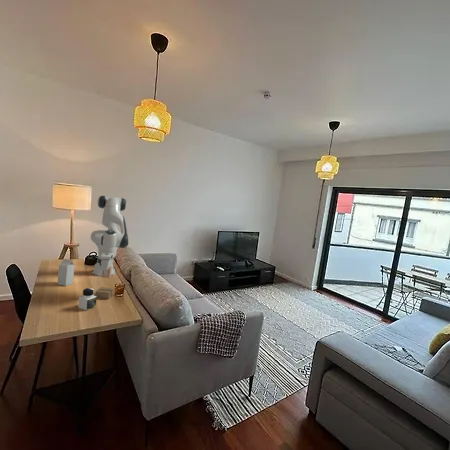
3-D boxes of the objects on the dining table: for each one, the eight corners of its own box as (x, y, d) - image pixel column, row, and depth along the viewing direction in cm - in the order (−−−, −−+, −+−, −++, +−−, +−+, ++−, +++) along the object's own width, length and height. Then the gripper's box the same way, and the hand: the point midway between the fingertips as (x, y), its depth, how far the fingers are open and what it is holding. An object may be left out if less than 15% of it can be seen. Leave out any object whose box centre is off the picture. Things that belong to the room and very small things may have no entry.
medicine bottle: (86, 310, 158) (88, 292, 157) (77, 307, 160) (79, 289, 159) (95, 307, 165) (97, 288, 164) (87, 304, 167) (89, 286, 166)
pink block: (103, 275, 183) (104, 265, 182) (110, 276, 184) (111, 265, 183) (101, 277, 178) (102, 266, 177) (109, 278, 179) (110, 267, 178)
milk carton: (65, 286, 190) (67, 261, 189) (57, 284, 192) (59, 259, 190) (73, 283, 197) (75, 259, 195) (65, 281, 198) (67, 257, 197)
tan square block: (100, 293, 186) (101, 287, 186) (113, 295, 187) (113, 288, 187) (95, 298, 177) (95, 291, 177) (108, 299, 178) (109, 292, 178)
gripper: (107, 250, 189) (105, 268, 190) (100, 256, 169) (98, 277, 170) (116, 251, 190) (114, 269, 192) (110, 257, 170) (108, 278, 172)
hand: (106, 273), depth 181 cm, fingers closed on pink block, 5 cm apart
